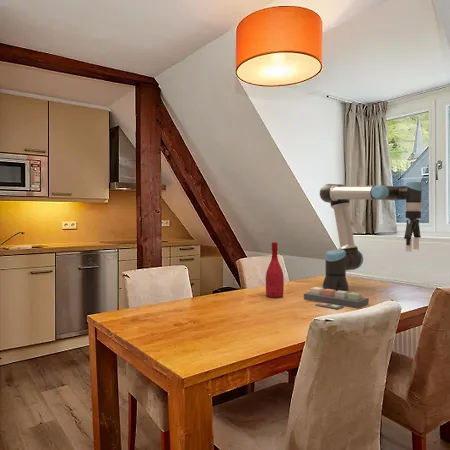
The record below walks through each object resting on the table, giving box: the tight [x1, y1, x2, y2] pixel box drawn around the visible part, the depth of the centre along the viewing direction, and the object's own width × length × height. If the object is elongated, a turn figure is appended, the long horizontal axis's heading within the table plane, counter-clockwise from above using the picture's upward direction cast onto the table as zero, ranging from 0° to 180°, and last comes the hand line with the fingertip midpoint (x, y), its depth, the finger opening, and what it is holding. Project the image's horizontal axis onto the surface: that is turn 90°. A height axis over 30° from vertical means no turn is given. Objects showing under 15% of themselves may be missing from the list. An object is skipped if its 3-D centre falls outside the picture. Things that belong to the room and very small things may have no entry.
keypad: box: [303, 291, 369, 309], centre depth 203 cm, size 30×12×3 cm, turn 47°
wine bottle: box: [265, 241, 285, 299], centre depth 216 cm, size 10×10×30 cm
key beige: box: [335, 290, 349, 299], centre depth 201 cm, size 5×5×3 cm
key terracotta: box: [322, 289, 336, 297], centre depth 206 cm, size 5×5×3 cm
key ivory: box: [310, 286, 324, 295], centre depth 210 cm, size 5×5×3 cm
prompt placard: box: [315, 302, 345, 310], centre depth 192 cm, size 12×6×1 cm, turn 47°
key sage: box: [348, 291, 363, 301], centre depth 196 cm, size 5×5×3 cm
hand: (412, 250), depth 210 cm, fingers open, 13 cm apart
